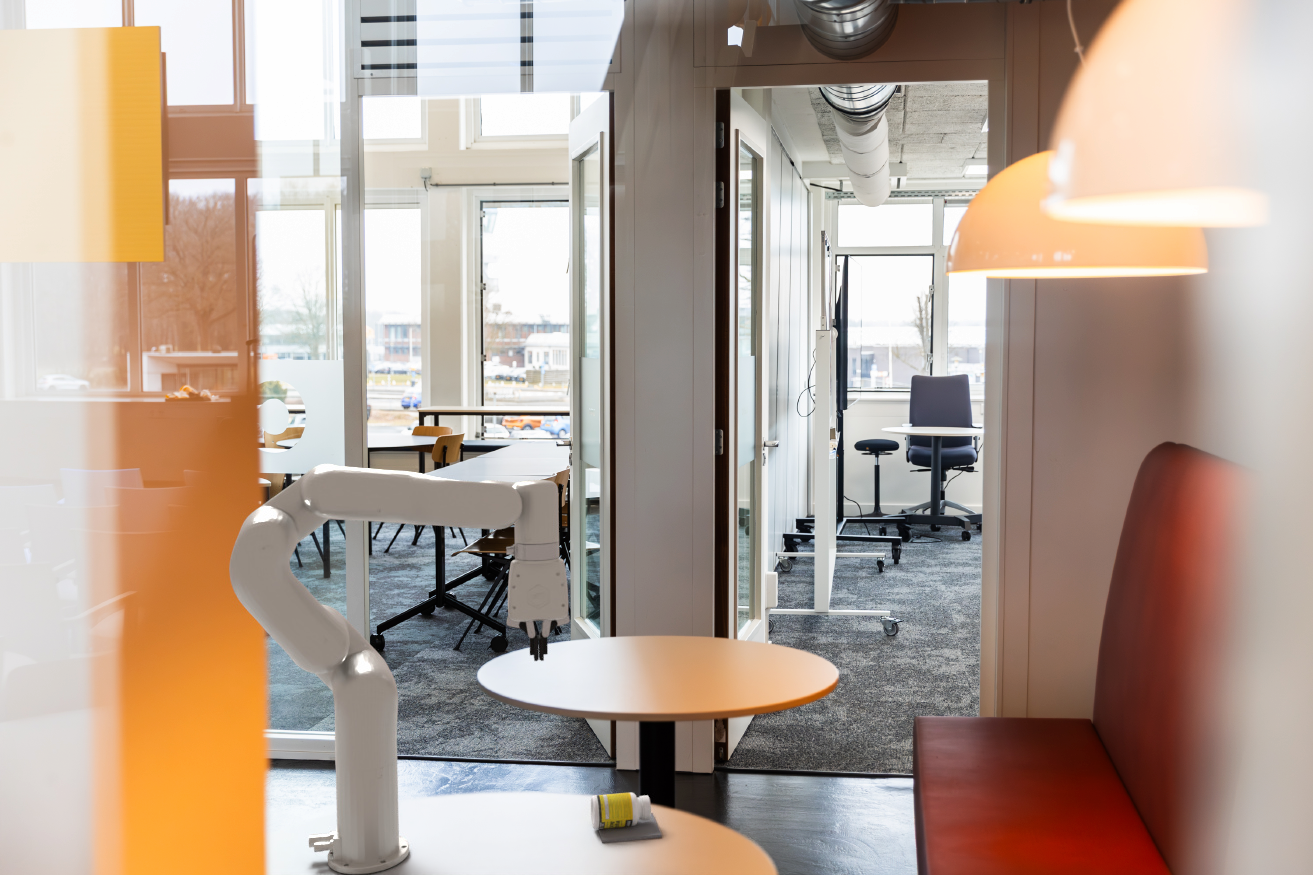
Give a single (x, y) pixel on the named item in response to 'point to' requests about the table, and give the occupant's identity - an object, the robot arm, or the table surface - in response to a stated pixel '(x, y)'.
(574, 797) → the table surface
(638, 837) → the mat
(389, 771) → the robot arm
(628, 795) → the supplement bottle
